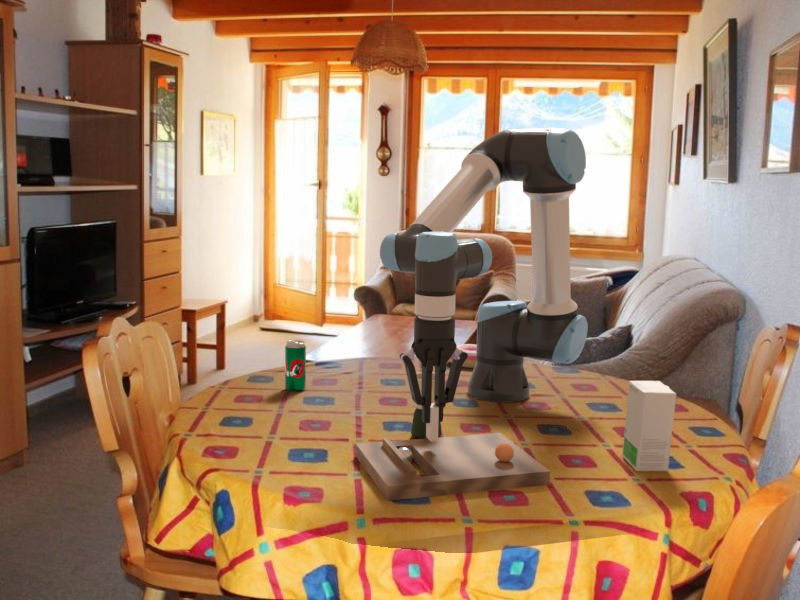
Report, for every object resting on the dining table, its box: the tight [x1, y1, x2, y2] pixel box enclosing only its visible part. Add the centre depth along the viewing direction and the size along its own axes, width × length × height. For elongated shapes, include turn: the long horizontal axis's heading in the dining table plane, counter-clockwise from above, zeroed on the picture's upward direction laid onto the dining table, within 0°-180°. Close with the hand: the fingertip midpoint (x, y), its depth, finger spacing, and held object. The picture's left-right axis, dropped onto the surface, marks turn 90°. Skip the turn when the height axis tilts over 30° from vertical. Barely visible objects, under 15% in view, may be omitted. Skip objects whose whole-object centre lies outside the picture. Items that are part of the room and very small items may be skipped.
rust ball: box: [495, 443, 514, 462], centre depth 153 cm, size 3×3×3 cm
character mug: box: [409, 371, 442, 439], centre depth 172 cm, size 11×7×13 cm, turn 7°
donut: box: [448, 343, 477, 369], centre depth 238 cm, size 14×13×5 cm
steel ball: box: [398, 447, 414, 464], centre depth 157 cm, size 3×3×3 cm
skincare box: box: [621, 380, 677, 472], centre depth 159 cm, size 8×7×16 cm
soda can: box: [284, 339, 307, 392], centre depth 206 cm, size 5×5×12 cm
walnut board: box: [355, 432, 551, 501], centre depth 155 cm, size 30×22×4 cm
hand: (431, 438), depth 158 cm, fingers closed
